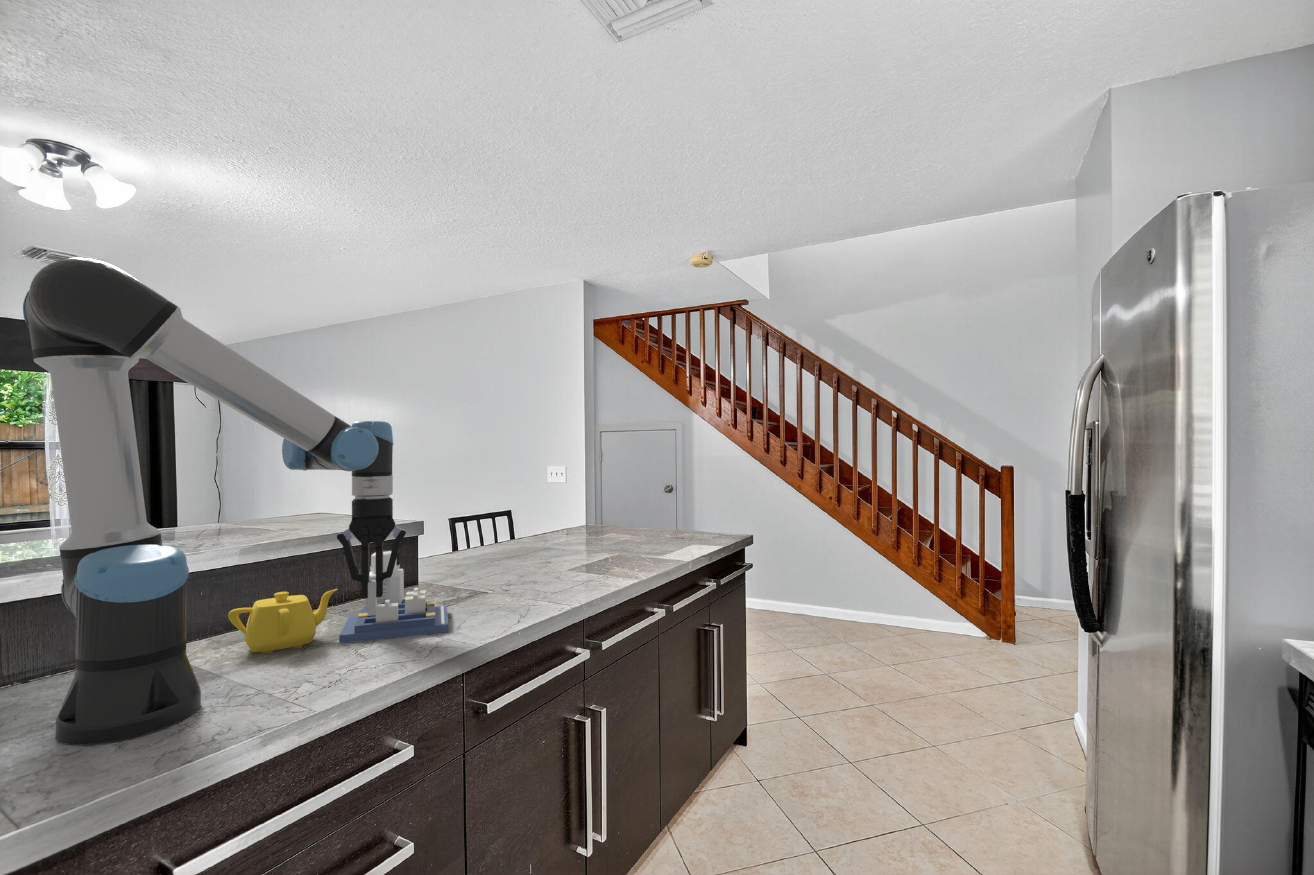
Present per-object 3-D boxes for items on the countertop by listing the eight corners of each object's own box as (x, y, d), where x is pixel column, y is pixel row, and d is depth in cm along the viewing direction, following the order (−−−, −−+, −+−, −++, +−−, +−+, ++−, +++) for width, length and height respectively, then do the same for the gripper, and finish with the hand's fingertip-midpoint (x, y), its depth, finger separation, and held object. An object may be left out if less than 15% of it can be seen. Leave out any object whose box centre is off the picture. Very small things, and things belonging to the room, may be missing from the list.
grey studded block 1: (375, 628, 120) (375, 604, 120) (377, 624, 122) (377, 600, 123) (397, 625, 121) (397, 602, 121) (398, 622, 124) (398, 598, 124)
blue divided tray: (339, 643, 116) (339, 626, 116) (350, 621, 131) (350, 607, 131) (448, 631, 123) (448, 616, 123) (446, 612, 138) (446, 598, 138)
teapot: (284, 633, 123) (284, 583, 123) (338, 636, 120) (338, 585, 121) (223, 655, 110) (223, 599, 110) (283, 660, 107) (283, 602, 107)
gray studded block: (404, 618, 126) (405, 596, 126) (405, 615, 129) (405, 593, 129) (425, 616, 128) (425, 594, 128) (425, 613, 130) (425, 591, 130)
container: (370, 601, 149) (370, 549, 149) (403, 599, 151) (403, 547, 151) (365, 609, 141) (365, 554, 142) (400, 606, 144) (400, 552, 144)
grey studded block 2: (406, 613, 131) (406, 591, 131) (406, 609, 134) (406, 588, 134) (425, 611, 132) (425, 589, 132) (425, 608, 135) (425, 586, 135)
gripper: (333, 499, 116) (333, 622, 115) (406, 497, 120) (406, 615, 120) (339, 497, 123) (339, 612, 122) (407, 494, 127) (407, 606, 127)
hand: (372, 613), depth 121 cm, fingers closed
